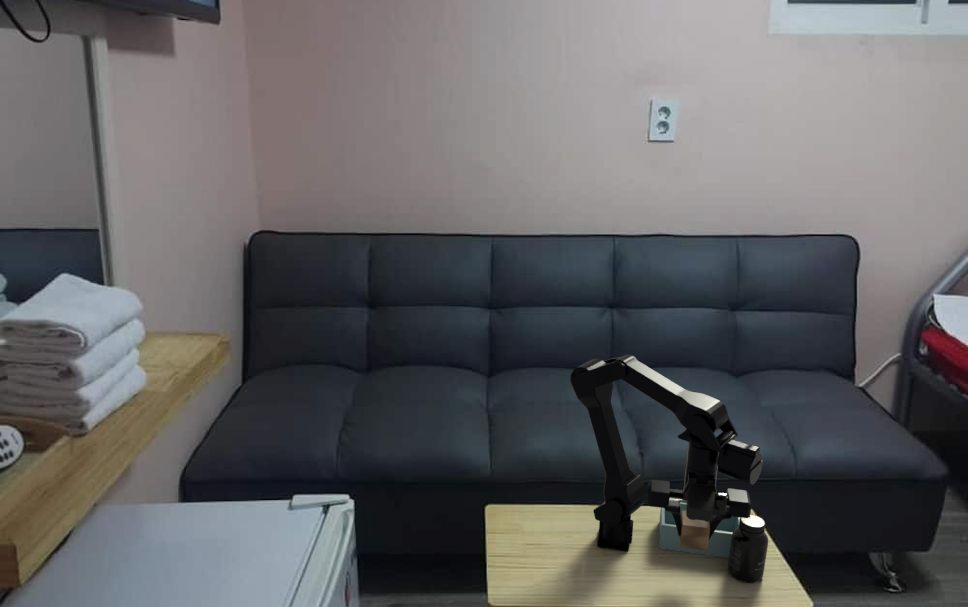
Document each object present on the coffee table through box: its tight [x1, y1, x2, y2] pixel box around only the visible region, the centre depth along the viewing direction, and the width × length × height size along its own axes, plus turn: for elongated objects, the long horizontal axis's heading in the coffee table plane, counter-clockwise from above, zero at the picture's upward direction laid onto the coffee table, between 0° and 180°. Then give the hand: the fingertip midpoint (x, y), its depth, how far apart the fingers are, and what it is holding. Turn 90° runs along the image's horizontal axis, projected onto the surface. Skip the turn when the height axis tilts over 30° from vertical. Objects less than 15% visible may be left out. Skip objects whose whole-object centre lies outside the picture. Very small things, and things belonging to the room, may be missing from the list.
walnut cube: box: [680, 511, 710, 551], centre depth 157 cm, size 5×5×5 cm
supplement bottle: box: [727, 513, 769, 584], centre depth 159 cm, size 7×7×12 cm
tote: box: [658, 501, 740, 559], centre depth 170 cm, size 16×10×6 cm, turn 79°
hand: (693, 536), depth 157 cm, fingers closed on walnut cube, 5 cm apart
